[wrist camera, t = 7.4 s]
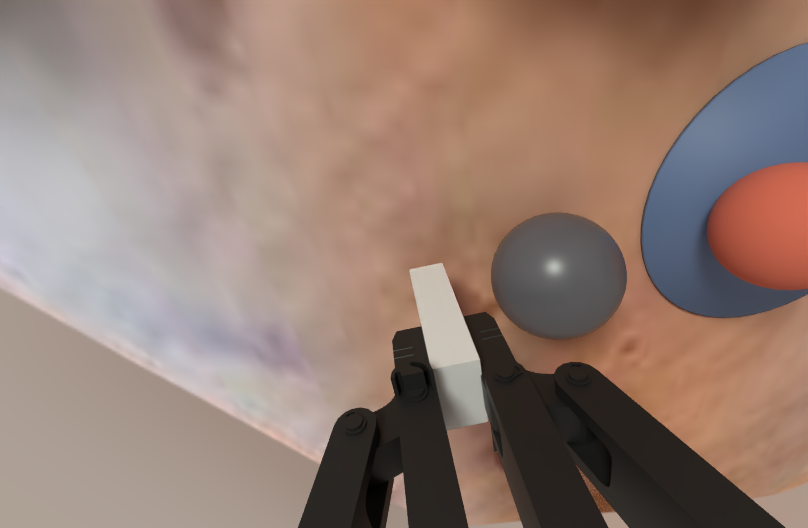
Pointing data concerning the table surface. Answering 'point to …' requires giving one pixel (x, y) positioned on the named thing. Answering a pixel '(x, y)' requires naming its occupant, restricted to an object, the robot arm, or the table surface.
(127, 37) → the table surface
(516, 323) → the dark grey sphere
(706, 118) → the blue plate
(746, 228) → the red ball
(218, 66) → the table surface
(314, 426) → the table surface
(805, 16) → the table surface
